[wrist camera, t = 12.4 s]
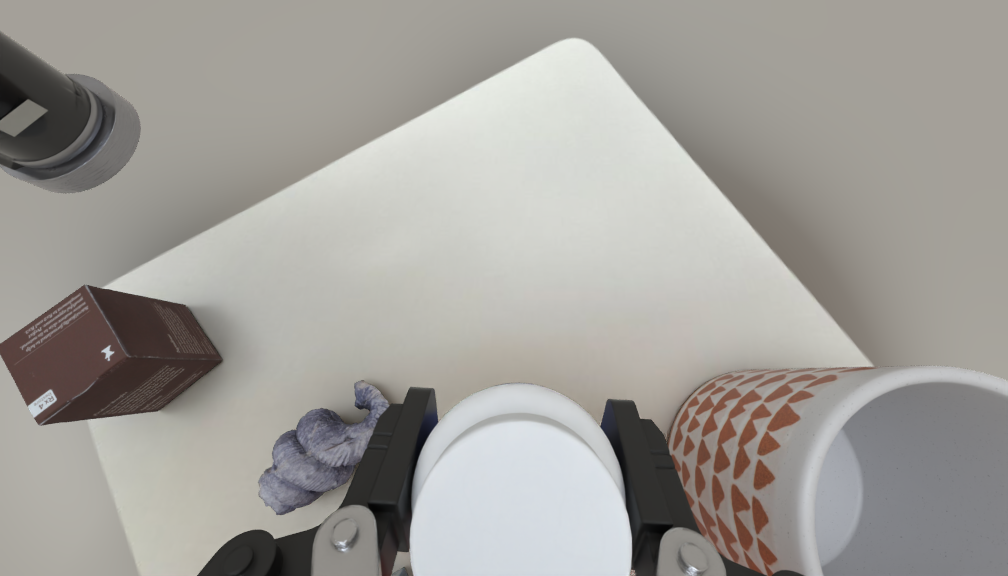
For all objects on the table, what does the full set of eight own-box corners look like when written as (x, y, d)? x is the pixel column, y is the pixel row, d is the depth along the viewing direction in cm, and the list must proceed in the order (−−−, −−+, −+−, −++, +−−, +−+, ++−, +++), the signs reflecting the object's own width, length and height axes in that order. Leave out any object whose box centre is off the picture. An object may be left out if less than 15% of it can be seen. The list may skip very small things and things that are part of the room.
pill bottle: (513, 547, 15) (517, 841, 5) (427, 444, 16) (303, 539, 6) (604, 448, 16) (745, 553, 6) (516, 356, 17) (523, 326, 7)
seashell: (395, 387, 29) (297, 484, 28) (343, 356, 25) (229, 466, 24) (419, 435, 25) (307, 550, 24) (363, 406, 21) (227, 540, 20)
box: (188, 303, 30) (85, 280, 22) (226, 361, 28) (130, 356, 21) (120, 352, 29) (-9, 345, 22) (156, 414, 28) (33, 428, 20)
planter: (669, 573, 24) (831, 776, 12) (659, 365, 28) (779, 357, 15) (879, 587, 24) (1269, 812, 12) (844, 374, 27) (1122, 373, 15)
